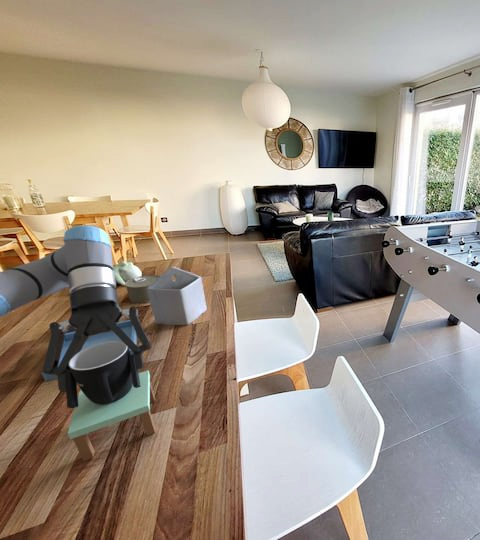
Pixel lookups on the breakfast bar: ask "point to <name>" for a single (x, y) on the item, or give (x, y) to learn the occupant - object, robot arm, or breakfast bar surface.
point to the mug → (103, 371)
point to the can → (140, 288)
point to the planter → (177, 297)
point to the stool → (111, 414)
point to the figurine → (125, 272)
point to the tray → (97, 341)
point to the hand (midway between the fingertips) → (106, 396)
